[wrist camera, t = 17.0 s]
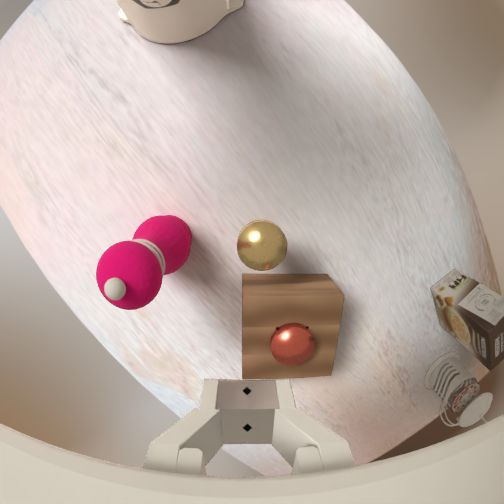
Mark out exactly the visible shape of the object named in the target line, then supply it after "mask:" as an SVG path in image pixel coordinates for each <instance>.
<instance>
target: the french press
mask: <svg viewBox="0 0 504 504" xmlns="http://www.w3.org/2000/svg"><path fill="white" fill-rule="evenodd" d="M470 378H471V384H470ZM467 379H468V385H467V386H466V387H465V385H466V380H467ZM463 381H464V384H463V386H462V388H460V389H459V390H458V391H456V392H454V393H453V391H454V390H456V389H457V388H458V387H460V385H461V384H462V382H463ZM424 385H425V387H426V388H427V389H429V390H434V391H435V392H436V393H437V395H438V396H439V397H440V399H441V404H440V416H441V419H442V421H443V422H444V423H445V421H444V420H443V418H442V415H441V405H442V401H443V402H444V403H445V415H446V406H447V407H448V409H451V410H452V411H453V412H459V411H462V410H464V409H465V410H464V411H463V413H462V414H461V416H460V417H457V420H458V418H460V420H458V423H457V424H453V423H451V422H450V421H449V419H448V418H447V415H446V418H447V420H448V421H449V423H451V424H452V425H449V424H447V423H445V424H446V425H447V426H457V425H460V426H461V427H467V426H470V425H472V424H474V423H475V422H477V421H478V420H480V419H481V418H482V419H483V420H484V418H483V415H484V414H485V413H486V412H487V411H488V409H489V407H490V404H491V402H492V398H493V396H492V394H491V393H488V392H487V393H483V394H481V395H479V396H478V397H477V395H478V393H479V389H480V385H479V384H478V383H477V380H476V378H475V377H474V376H473V375H472V374H471V373H470V372H469V371H468V370H467V369H466V368H465V367H464V366H463V365H462V364H461V363H460V356H459V354H458V353H455V352H450V353H446V354H445V355H443V356H441V357H440V358H439V359H437V360H436V361H435V362H434V363H433V364H432V366H431V367H430V368H429V370H428V371H427V374H426V376H425V378H424ZM437 389H438V391H437ZM440 392H441V395H440V394H439V393H440ZM457 393H458V395H457V396H455V394H457ZM443 396H444V397H445V398H444V399H443V398H442V397H443ZM447 401H448V402H449V404H450V405H451V408H450V407H449V405H448V404H447ZM484 421H485V420H484ZM485 422H486V421H485ZM486 423H487V422H486Z"/></svg>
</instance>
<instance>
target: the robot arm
mask: <svg viewBox="0 0 504 504" xmlns="http://www.w3.org/2000/svg"><path fill="white" fill-rule="evenodd" d="M116 1H117V2H118V4H119V6H120V10H119V12H118V16H119V18H120V19H121V20H122V21H124V22H126V23H129V24H131V25H132V26H133V27H134V28H135V29H136V31H137V32H138V33H139V34H140V35H141V36H142V37H144V38H145V39H147V40H150V41H153V42H157V43H167V44H168V43H179V42H184V41H188V40H191V39H194V38H196V37H198V36H200V35H202V34H204V33H206V32H207V31H209V30H210V29H212V28H213V27H214V26H215V25H216V24H217V23H218V22H219V21H220V20H221V19H222V18H223V17H224V16H225V15H227V14H229V13H231V12H233V11H235V10H237V9H239V8H241V7H242V6H243V4H244V1H243V0H116ZM223 444H272V446H273V447H274V448H275V449H276V450H277V451H278V452H279V453H280V454H281V456H282V457H283V458H284V459H285V460H286V461H287V462H288V463H289V464H290V465H291V466H292V467H293V469H292V473H291V475H284V476H265V477H218V476H206V470H205V466H206V465H207V463H208V462H209V461H210V460H211V459H212V458H213V456H214V455H215V454H216V453H217V452H218V451H219V449H220V448H221V447H222V446H223ZM0 504H504V414H503V415H501V416H499V417H497V418H495V419H494V420H491V421H489V422H487V423H485V424H483V425H481V426H479V427H477V428H475V429H472V430H470V431H468V432H465V433H463V434H460V435H458V436H456V437H453V438H450V439H448V440H445V441H443V442H440V443H437V444H434V445H432V446H429V447H426V448H423V449H420V450H417V451H413V452H410V453H407V454H403V455H400V456H396V457H393V458H388V459H385V460H381V461H376V462H372V463H367V464H363V465H358V466H356V465H355V462H354V459H353V456H352V454H351V451H350V448H349V445H348V443H347V441H346V440H345V439H343V438H342V437H340V436H339V435H337V434H336V433H334V432H333V431H332V430H330V429H329V428H327V427H326V426H325V425H323V424H322V423H320V422H319V421H318V420H316V419H315V418H313V417H312V416H311V415H309V414H308V413H307V412H305V411H304V410H303V409H301V408H296V404H295V400H294V396H293V392H292V387H291V383H290V380H289V379H288V378H287V379H275V380H227V379H219V380H218V379H204V381H203V386H202V392H201V398H200V404H199V409H197V408H195V409H193V410H192V411H191V412H190V413H188V414H187V415H186V416H185V417H183V418H182V419H181V420H179V421H178V422H177V423H176V424H174V425H173V426H172V427H171V428H169V429H168V430H167V431H165V432H164V433H163V434H161V435H160V436H159V437H158V438H156V439H155V440H153V441H152V442H151V443H150V446H149V450H148V453H147V456H146V460H145V463H144V467H143V469H142V468H136V467H131V466H126V465H121V464H117V463H112V462H108V461H104V460H100V459H96V458H92V457H89V456H85V455H81V454H78V453H75V452H71V451H69V450H65V449H62V448H59V447H56V446H54V445H51V444H48V443H45V442H42V441H40V440H37V439H35V438H32V437H30V436H28V435H25V434H23V433H20V432H18V431H16V430H14V429H11V428H9V427H7V426H5V425H2V424H1V423H0Z"/></svg>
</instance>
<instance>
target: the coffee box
mask: <svg viewBox="0 0 504 504" xmlns="http://www.w3.org/2000/svg"><path fill="white" fill-rule="evenodd" d="M431 292H432V295H433V299H434V303H435V307H436V311H437V315H438V319H439V323H440V325H441V326H442V327H443V328H444V329H445V330H446V331H447V332H448V333H450V334H451V335H452V336H453V337H454V338H455V339H456V340H458V341H459V342H460V343H461V344H462V345H463V346H464V347H465V348H466V349H467V350H468V351H470V352H471V353H472V354H473V355H474V356H475V357H476V358H477V359H478V360H479V361H480V362H481V363H482V364H483V365H484V366H486V367H487V368H488V369H489V370H490V371H491V370H492V369H493V368H494V367H495V366H497V365H498V364H499V363H500V362H501V361H502V360H503V359H504V297H503V296H501V295H499V294H498V293H496V292H494V291H493V290H491V289H489V288H488V287H486V286H484V285H482V284H481V283H479V282H477V281H475V280H474V279H472V278H470V277H468V276H467V275H465V274H463V273H461V272H459V271H458V270H456V269H454V270H452V271H451V272H450V273H449V274H447V275H446V276H445V277H444V278H442V279H441V280H440V281H438V282H437V283H436V284H435V285H433V286H432V287H431Z"/></svg>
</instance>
